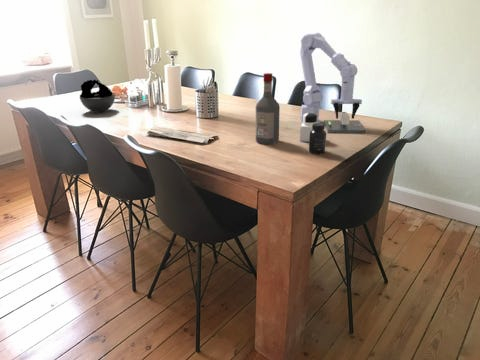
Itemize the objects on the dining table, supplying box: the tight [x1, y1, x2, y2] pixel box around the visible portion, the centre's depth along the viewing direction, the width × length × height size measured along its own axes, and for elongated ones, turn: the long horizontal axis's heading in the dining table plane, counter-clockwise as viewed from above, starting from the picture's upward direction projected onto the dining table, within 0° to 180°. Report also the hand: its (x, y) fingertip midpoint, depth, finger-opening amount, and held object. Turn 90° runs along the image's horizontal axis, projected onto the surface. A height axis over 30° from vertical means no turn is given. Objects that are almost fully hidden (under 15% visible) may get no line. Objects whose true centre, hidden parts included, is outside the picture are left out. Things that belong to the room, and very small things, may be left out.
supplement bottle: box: [308, 122, 327, 155], centre depth 162 cm, size 7×7×12 cm
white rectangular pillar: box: [339, 111, 351, 125], centre depth 195 cm, size 3×9×6 cm, turn 175°
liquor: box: [255, 72, 280, 145], centre depth 172 cm, size 9×9×30 cm
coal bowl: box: [79, 79, 116, 113], centre depth 233 cm, size 20×20×19 cm
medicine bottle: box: [299, 113, 317, 143], centre depth 177 cm, size 7×7×12 cm
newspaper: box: [143, 126, 219, 144], centre depth 186 cm, size 35×12×4 cm, turn 63°
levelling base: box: [323, 119, 367, 134], centre depth 196 cm, size 18×18×3 cm
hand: (344, 118), depth 194 cm, fingers open, 7 cm apart
